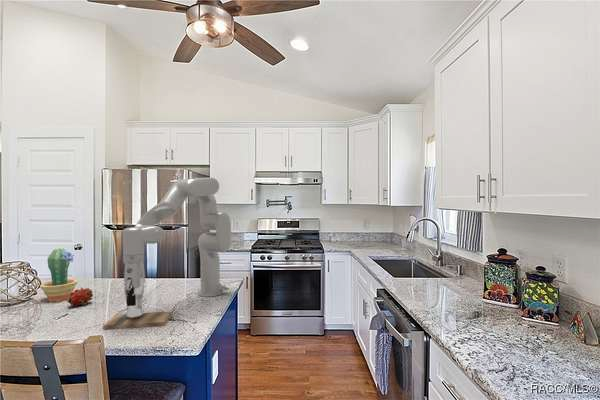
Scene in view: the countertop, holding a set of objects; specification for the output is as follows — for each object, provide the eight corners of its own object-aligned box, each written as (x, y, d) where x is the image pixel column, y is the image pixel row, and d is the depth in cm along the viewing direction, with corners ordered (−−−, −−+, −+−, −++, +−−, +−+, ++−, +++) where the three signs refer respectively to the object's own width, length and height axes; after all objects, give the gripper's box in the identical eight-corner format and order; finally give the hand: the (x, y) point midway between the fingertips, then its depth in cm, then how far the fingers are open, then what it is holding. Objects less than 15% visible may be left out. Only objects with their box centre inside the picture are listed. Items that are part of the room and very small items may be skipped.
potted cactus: (45, 305, 152) (44, 252, 152) (35, 299, 162) (34, 249, 161) (83, 297, 164) (82, 247, 164) (71, 292, 174) (71, 245, 174)
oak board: (172, 314, 138) (172, 311, 138) (164, 325, 126) (164, 321, 126) (116, 318, 135) (116, 314, 135) (103, 329, 123) (103, 325, 123)
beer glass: (148, 312, 134) (147, 275, 134) (138, 318, 128) (137, 280, 127) (131, 312, 135) (131, 275, 135) (121, 318, 128) (120, 280, 128)
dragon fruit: (95, 304, 159) (70, 316, 147) (83, 293, 160) (58, 304, 149) (100, 291, 156) (76, 302, 145) (88, 280, 158) (63, 290, 146)
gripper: (136, 262, 123) (136, 309, 123) (150, 254, 140) (151, 295, 140) (114, 262, 122) (115, 310, 122) (131, 254, 139) (132, 296, 139)
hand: (134, 302), depth 131 cm, fingers closed on beer glass, 6 cm apart
